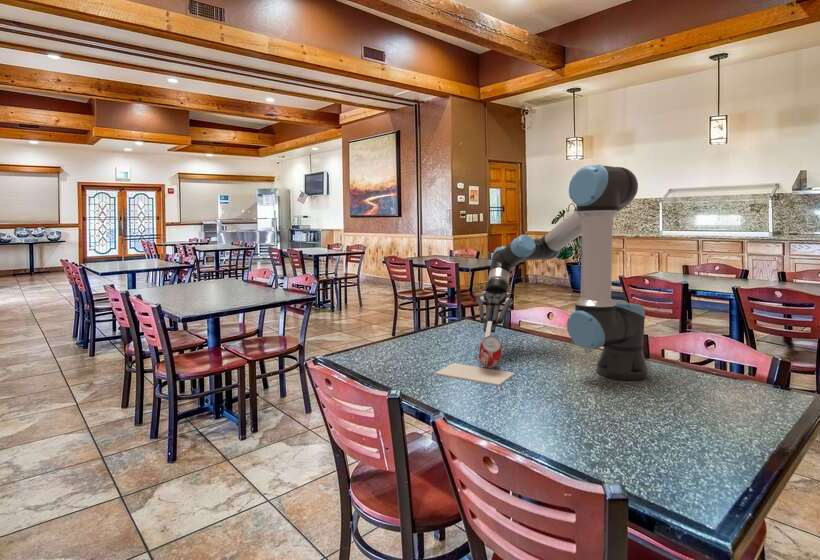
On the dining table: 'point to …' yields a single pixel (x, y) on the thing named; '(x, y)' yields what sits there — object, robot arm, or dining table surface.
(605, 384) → the dining table surface
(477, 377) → the mat
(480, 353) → the soda can
